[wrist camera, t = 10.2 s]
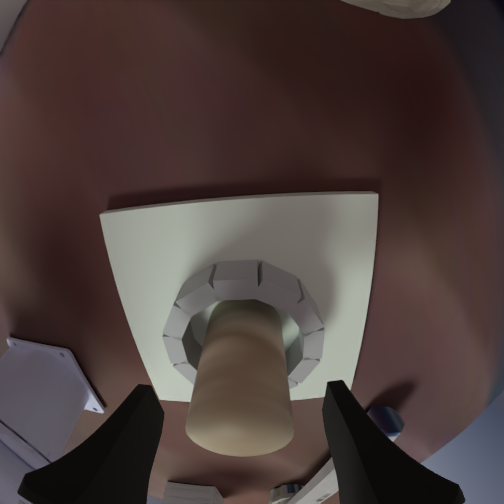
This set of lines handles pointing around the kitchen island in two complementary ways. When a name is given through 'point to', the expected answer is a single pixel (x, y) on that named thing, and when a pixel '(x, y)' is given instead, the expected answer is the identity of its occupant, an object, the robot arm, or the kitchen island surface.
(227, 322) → the maple peg
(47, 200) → the kitchen island surface
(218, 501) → the supplement box
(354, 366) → the collar plate
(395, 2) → the ceramic cottage
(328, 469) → the white handheld device
